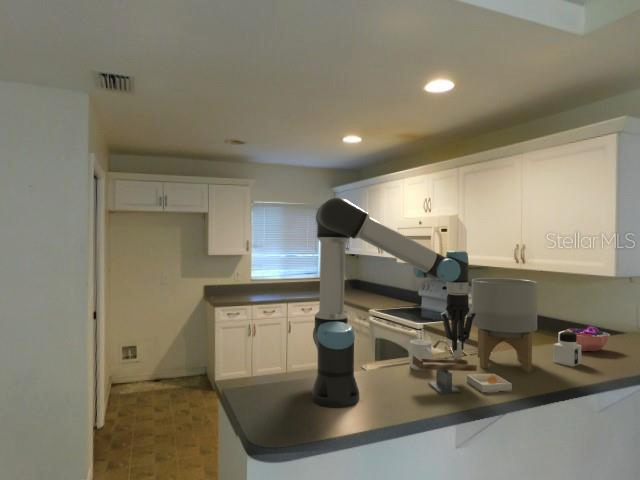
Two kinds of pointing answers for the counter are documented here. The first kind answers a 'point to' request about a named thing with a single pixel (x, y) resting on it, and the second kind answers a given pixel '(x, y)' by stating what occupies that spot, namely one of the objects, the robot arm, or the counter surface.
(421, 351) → the mug
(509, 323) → the planter
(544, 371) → the counter surface
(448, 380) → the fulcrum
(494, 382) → the ball
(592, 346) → the cell model
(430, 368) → the plank
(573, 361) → the container
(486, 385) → the dish
